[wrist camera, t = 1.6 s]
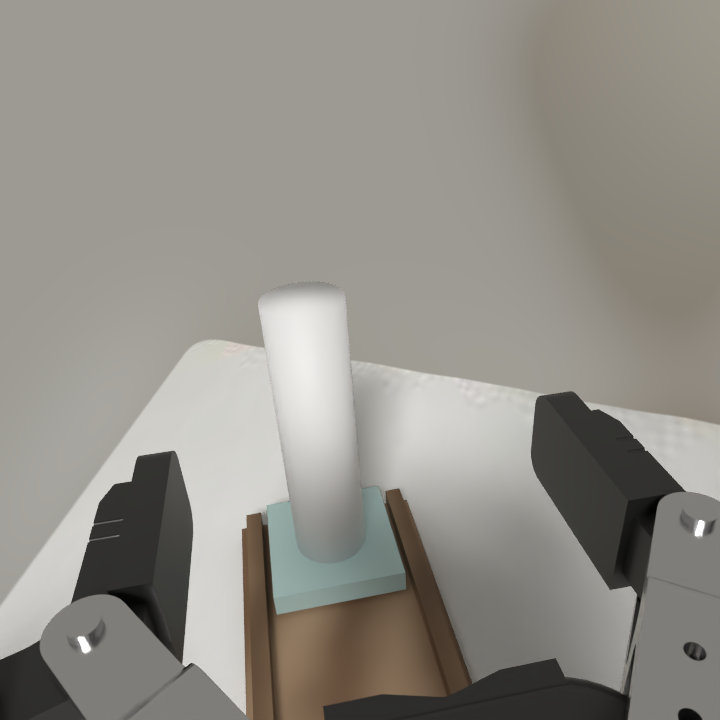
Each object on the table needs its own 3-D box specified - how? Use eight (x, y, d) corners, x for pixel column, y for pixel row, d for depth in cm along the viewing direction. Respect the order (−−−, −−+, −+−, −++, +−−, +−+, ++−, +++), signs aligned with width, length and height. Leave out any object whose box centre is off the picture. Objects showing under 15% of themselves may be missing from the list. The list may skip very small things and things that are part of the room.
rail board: (406, 507, 46) (405, 468, 44) (548, 909, 26) (557, 867, 24) (243, 537, 45) (235, 497, 43) (255, 988, 24) (239, 949, 22)
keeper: (379, 501, 45) (363, 262, 36) (405, 589, 38) (394, 321, 29) (269, 521, 44) (224, 280, 35) (276, 614, 38) (222, 345, 28)
